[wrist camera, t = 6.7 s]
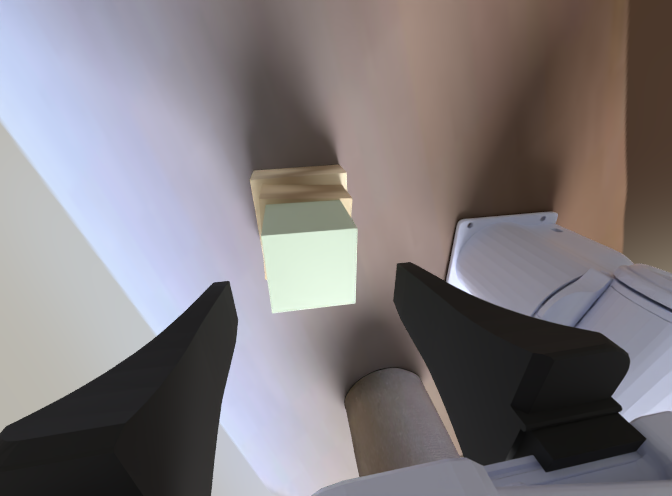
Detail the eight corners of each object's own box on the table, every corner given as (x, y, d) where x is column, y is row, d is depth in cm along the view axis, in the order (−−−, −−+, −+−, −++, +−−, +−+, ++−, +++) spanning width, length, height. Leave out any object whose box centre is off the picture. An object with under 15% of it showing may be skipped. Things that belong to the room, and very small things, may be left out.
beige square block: (341, 184, 18) (352, 198, 16) (337, 252, 20) (346, 275, 18) (262, 184, 17) (258, 198, 15) (267, 255, 20) (265, 279, 17)
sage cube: (340, 199, 15) (357, 228, 12) (340, 262, 17) (355, 303, 14) (265, 204, 15) (260, 235, 11) (274, 269, 17) (272, 313, 13)
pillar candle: (350, 428, 35) (391, 620, 22) (337, 379, 31) (379, 585, 18) (423, 407, 36) (505, 581, 23) (421, 356, 31) (522, 538, 18)
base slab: (338, 163, 20) (346, 172, 18) (340, 237, 23) (348, 255, 21) (253, 169, 20) (249, 180, 17) (266, 245, 22) (264, 264, 20)
